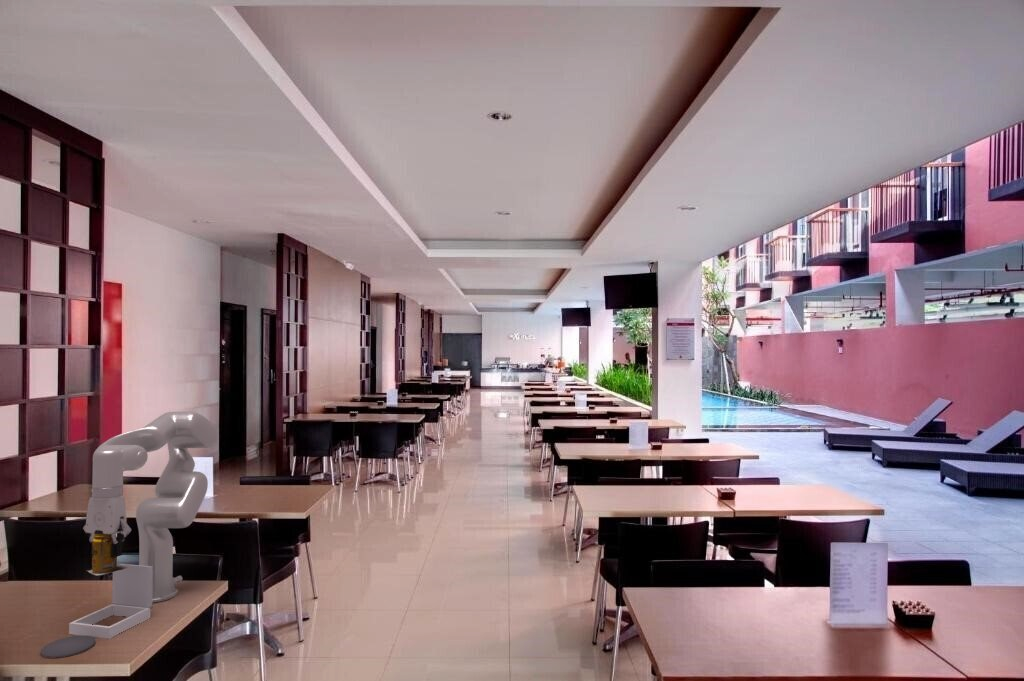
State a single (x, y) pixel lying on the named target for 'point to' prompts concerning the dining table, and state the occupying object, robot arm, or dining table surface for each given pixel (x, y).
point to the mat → (68, 646)
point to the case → (121, 604)
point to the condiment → (103, 555)
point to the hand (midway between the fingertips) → (106, 555)
